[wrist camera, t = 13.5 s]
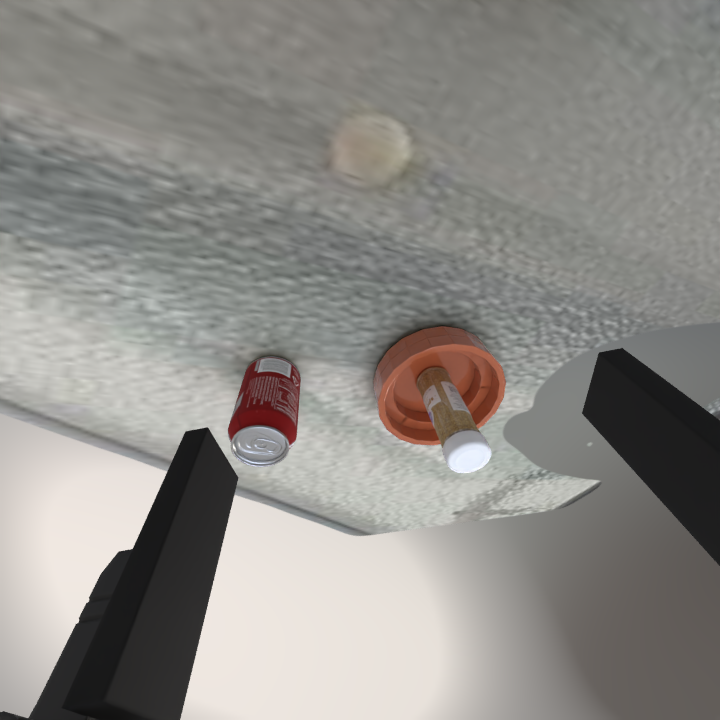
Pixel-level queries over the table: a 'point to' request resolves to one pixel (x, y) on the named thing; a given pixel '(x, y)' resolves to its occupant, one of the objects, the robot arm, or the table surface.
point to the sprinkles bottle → (452, 422)
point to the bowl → (435, 349)
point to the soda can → (266, 412)
